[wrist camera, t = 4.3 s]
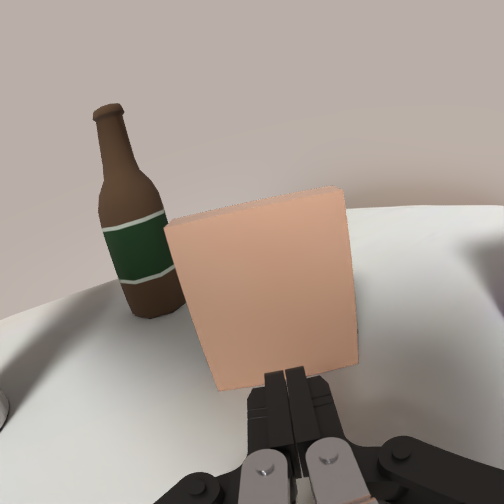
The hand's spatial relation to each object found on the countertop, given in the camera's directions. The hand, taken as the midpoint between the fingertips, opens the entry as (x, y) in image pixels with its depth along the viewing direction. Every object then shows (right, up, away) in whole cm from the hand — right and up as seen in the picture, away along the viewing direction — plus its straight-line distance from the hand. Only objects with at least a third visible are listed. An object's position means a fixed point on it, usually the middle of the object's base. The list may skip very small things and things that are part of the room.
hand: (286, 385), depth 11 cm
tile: (+1, -3, +10) cm, 11 cm away
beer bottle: (-12, -1, +26) cm, 29 cm away
